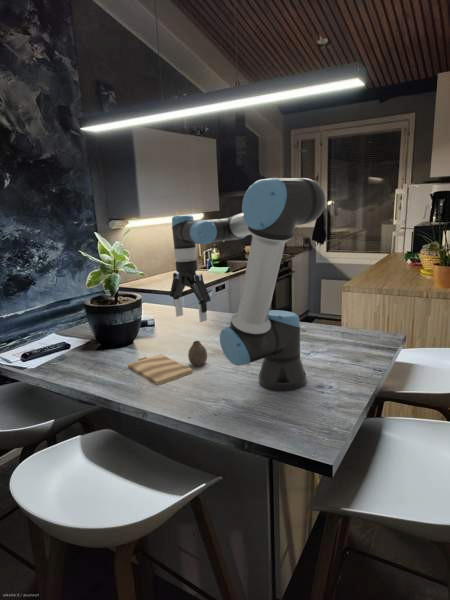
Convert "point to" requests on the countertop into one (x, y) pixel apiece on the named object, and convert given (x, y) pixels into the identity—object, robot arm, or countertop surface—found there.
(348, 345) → the countertop surface
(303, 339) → the countertop surface
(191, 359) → the vase
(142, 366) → the board
